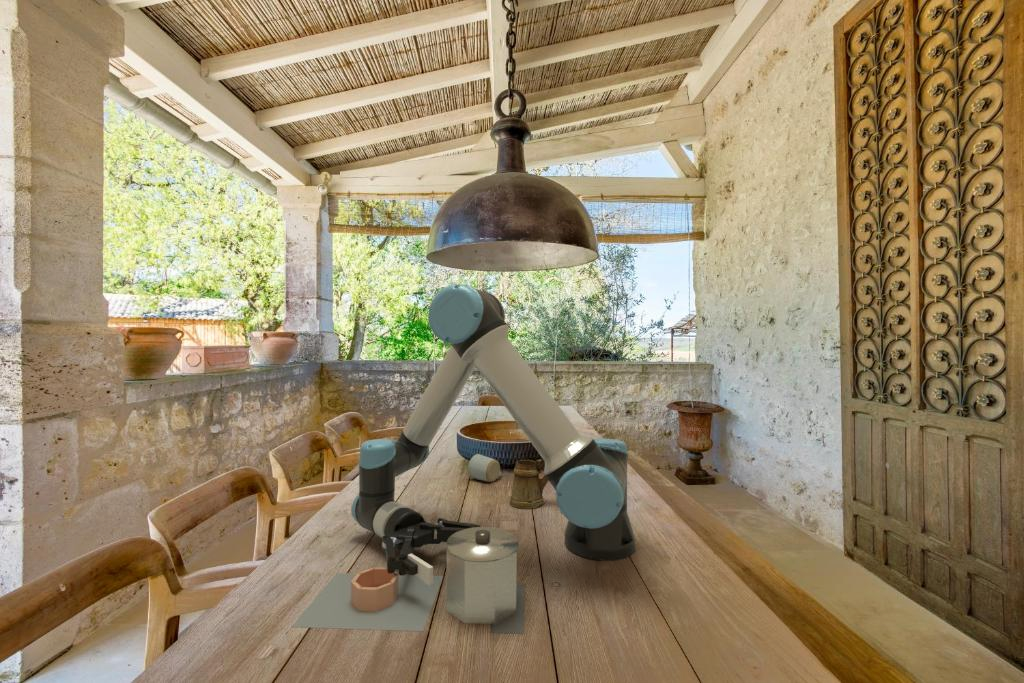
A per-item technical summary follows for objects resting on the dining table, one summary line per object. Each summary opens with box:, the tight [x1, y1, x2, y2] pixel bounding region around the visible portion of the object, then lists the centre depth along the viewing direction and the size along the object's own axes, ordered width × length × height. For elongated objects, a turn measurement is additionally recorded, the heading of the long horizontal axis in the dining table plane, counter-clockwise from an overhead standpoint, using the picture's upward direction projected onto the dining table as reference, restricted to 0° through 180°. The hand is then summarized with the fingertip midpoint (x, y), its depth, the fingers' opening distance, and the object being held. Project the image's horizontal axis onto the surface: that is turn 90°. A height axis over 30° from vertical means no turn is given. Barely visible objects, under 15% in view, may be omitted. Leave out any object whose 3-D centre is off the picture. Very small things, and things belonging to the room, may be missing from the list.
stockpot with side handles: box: [445, 526, 519, 628], centre depth 75 cm, size 12×12×12 cm
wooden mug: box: [509, 457, 549, 510], centre depth 124 cm, size 9×14×18 cm, turn 76°
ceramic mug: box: [467, 453, 502, 483], centre depth 147 cm, size 11×8×8 cm
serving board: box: [291, 572, 444, 633], centre depth 76 cm, size 20×16×1 cm
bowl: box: [351, 566, 399, 612], centre depth 76 cm, size 7×7×4 cm
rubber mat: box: [489, 583, 526, 635], centre depth 75 cm, size 14×14×1 cm
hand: (464, 562), depth 78 cm, fingers open, 13 cm apart
